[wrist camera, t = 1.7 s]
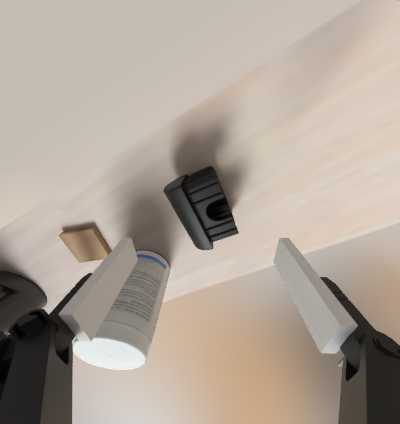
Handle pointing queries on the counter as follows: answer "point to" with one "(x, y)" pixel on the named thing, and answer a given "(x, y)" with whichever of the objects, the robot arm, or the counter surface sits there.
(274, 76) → the counter surface
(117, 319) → the supplement tub
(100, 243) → the oak coaster
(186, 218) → the end cap
